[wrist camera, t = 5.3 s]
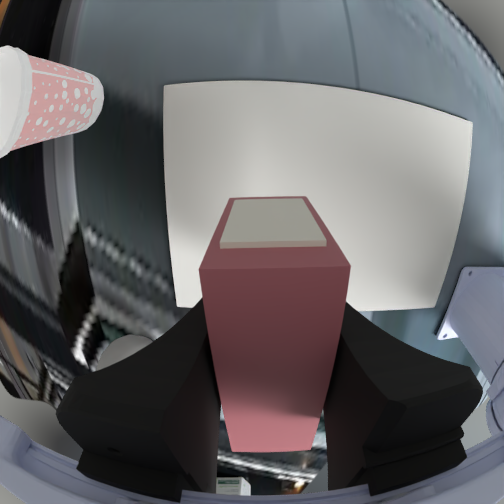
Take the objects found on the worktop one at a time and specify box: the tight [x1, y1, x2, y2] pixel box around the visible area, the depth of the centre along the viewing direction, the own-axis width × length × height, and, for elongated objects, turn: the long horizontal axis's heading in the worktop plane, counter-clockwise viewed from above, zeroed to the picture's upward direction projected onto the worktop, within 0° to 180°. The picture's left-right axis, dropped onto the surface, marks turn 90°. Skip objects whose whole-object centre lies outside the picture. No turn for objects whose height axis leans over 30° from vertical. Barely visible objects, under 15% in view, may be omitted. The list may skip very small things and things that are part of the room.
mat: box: [163, 81, 473, 311], centre depth 18 cm, size 22×16×1 cm
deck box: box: [199, 196, 351, 452], centre depth 10 cm, size 8×3×6 cm, turn 2°
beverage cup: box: [0, 46, 104, 158], centre depth 9 cm, size 6×6×14 cm
